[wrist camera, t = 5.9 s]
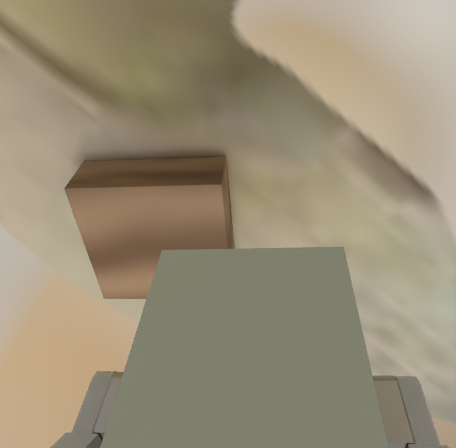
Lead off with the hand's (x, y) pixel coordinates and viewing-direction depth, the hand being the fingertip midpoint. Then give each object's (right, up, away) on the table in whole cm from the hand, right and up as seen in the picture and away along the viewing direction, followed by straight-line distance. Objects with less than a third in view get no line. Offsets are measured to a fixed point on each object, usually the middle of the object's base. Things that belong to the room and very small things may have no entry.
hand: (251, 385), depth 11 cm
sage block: (0, +2, +2) cm, 3 cm away
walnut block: (-5, +5, +21) cm, 23 cm away
